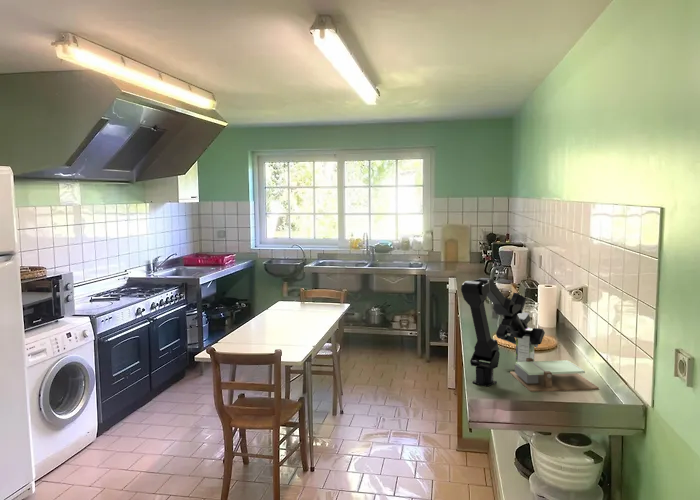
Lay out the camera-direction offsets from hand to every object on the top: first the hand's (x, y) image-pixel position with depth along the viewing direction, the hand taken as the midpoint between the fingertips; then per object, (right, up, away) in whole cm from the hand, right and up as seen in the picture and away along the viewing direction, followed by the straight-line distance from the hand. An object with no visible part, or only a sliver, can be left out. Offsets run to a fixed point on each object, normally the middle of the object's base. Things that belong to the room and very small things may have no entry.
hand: (526, 345), depth 222 cm
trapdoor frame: (+2, -9, -24) cm, 25 cm away
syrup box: (-1, -8, 0) cm, 8 cm away
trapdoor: (0, -8, -24) cm, 25 cm away
